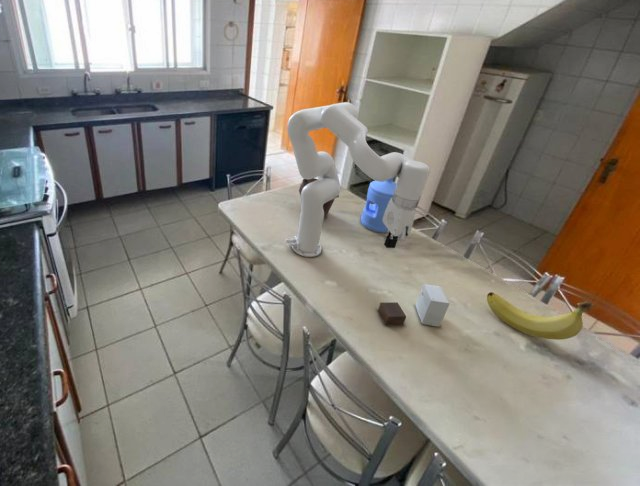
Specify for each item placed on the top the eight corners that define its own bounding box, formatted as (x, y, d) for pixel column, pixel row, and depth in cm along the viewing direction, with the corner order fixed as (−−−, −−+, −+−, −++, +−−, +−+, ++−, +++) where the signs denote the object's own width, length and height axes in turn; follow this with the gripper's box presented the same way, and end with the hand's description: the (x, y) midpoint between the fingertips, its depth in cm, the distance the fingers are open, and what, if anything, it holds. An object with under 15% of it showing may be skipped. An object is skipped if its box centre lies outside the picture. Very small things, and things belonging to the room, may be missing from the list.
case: (338, 224, 161) (345, 192, 153) (297, 222, 161) (302, 189, 153) (330, 206, 177) (336, 176, 169) (293, 204, 177) (297, 174, 169)
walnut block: (385, 325, 107) (388, 316, 105) (377, 310, 112) (380, 302, 110) (403, 325, 107) (406, 316, 105) (394, 310, 113) (397, 302, 111)
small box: (439, 327, 107) (450, 304, 102) (421, 324, 108) (431, 300, 103) (431, 309, 114) (441, 286, 109) (414, 306, 115) (423, 283, 110)
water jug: (392, 220, 167) (407, 169, 155) (394, 236, 154) (411, 182, 141) (360, 213, 171) (372, 164, 159) (360, 229, 158) (373, 176, 145)
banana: (478, 309, 115) (501, 265, 106) (484, 303, 118) (507, 258, 109) (560, 358, 99) (596, 310, 90) (565, 349, 102) (600, 302, 93)
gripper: (383, 188, 109) (370, 233, 117) (405, 211, 96) (388, 260, 104) (405, 189, 109) (390, 233, 118) (429, 212, 96) (410, 261, 105)
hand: (389, 246), depth 111 cm, fingers closed
